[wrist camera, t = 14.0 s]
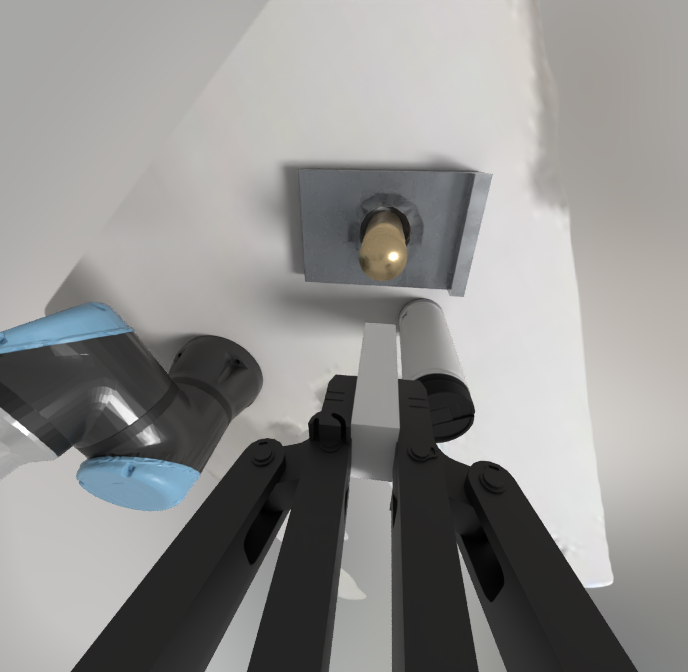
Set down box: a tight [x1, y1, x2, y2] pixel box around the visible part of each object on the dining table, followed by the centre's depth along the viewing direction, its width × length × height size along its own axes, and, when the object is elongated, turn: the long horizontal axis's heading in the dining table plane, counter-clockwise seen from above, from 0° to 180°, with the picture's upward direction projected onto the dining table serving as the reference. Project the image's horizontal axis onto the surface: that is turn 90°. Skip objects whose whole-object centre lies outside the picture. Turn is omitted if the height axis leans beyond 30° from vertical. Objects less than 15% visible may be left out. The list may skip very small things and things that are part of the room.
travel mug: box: [399, 299, 475, 443], centre depth 35 cm, size 6×7×20 cm
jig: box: [298, 169, 493, 297], centre depth 36 cm, size 20×13×4 cm, turn 90°
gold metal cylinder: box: [359, 211, 407, 281], centre depth 32 cm, size 4×4×12 cm
